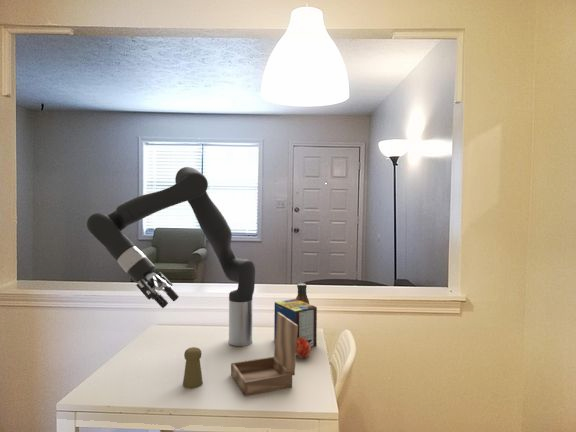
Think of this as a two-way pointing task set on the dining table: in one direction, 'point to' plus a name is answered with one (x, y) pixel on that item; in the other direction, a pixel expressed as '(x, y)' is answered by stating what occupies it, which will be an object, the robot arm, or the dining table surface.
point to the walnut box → (260, 375)
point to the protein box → (299, 318)
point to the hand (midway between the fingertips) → (171, 302)
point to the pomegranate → (303, 347)
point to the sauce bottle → (302, 293)
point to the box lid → (286, 342)
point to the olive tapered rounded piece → (192, 368)
